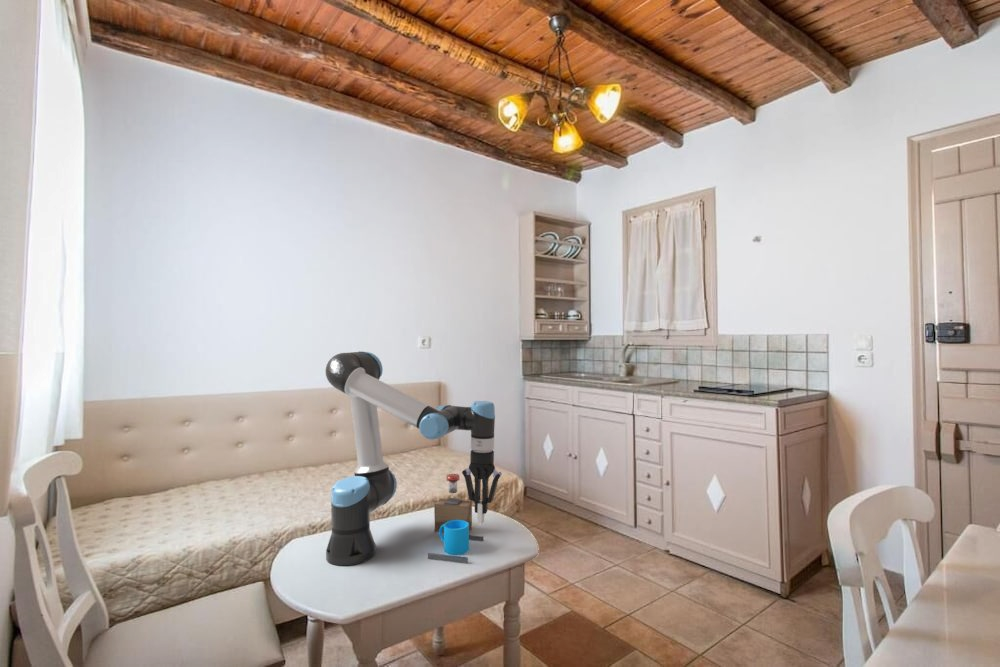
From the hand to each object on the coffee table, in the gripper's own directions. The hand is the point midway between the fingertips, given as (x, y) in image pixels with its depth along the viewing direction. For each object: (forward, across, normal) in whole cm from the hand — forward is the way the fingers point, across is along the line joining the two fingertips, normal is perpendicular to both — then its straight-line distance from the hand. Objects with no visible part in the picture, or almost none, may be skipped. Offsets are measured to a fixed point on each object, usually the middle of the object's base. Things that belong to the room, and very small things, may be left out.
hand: (480, 522), depth 156 cm
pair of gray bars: (+10, -8, 0) cm, 13 cm away
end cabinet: (+10, -14, +14) cm, 22 cm away
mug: (+10, -10, +1) cm, 14 cm away
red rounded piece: (-4, -15, +14) cm, 21 cm away
